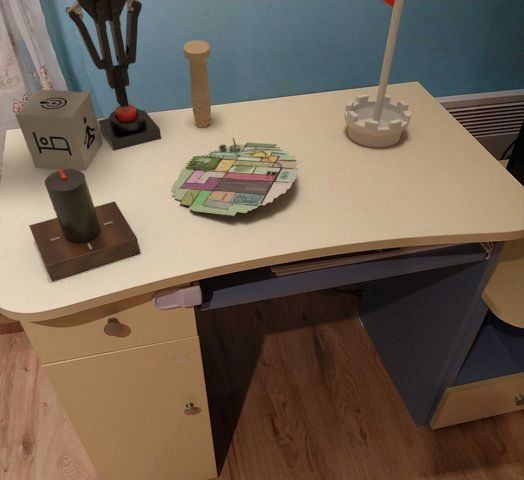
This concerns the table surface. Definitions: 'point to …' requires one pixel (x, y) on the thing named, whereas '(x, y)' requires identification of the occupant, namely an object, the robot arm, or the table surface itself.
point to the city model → (235, 178)
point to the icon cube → (60, 129)
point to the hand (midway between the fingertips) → (122, 103)
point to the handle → (199, 80)
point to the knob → (73, 205)
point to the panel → (85, 244)
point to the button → (126, 113)
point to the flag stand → (379, 102)
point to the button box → (129, 130)
